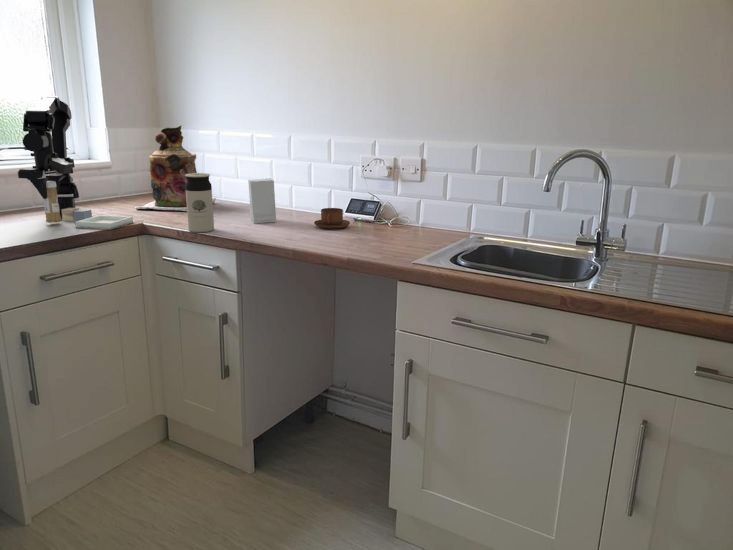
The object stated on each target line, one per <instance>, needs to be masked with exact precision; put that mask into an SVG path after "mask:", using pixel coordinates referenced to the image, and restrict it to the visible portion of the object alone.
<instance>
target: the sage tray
mask: <svg viewBox="0 0 733 550" xmlns="http://www.w3.org/2000/svg"><path fill="white" fill-rule="evenodd" d="M133 218H134V217H133V216H123V215H101V214H100V215H94V216H92V217H91V218H87V219H84V220H80V221H76V222H74V223H75V228H77V229H92V228H93V230H96V229H97V230H113V229H114V230H115V229H118V228H120V226H121V227H124V226H126V225H125V224H127V225H129V223H130V224H133V223H134V219H133ZM132 222H133V223H132ZM123 225H124V226H123Z"/></svg>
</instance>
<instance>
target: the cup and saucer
mask: <svg viewBox="0 0 733 550" xmlns="http://www.w3.org/2000/svg"><path fill="white" fill-rule="evenodd" d="M313 223H314V225H315V226H316V227H318V228H320V229H325V230H338V229H343V228H346V227H348V226H349V225H350V223H351V222H350V221H349V220H348V219H347V220H346V219H344V210H343V208H339V207H326V208H322V209H320V219H317V220H315V221H314V222H313Z"/></svg>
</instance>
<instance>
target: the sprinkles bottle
mask: <svg viewBox="0 0 733 550" xmlns="http://www.w3.org/2000/svg"><path fill="white" fill-rule="evenodd" d="M56 187H57V186H56V182H55V181H47V182H46V188H47V199H43V198H42V202H43V207H44V209H43V210H44V214H45V222H46V223H49V224H52V223H53V224H54V223H55V224H56V223H60V222H61V221H62V218H61V216H60V212H59V211H60V210H59V203H58V198H57V196H58V195H57V191H56Z"/></svg>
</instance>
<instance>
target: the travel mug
mask: <svg viewBox="0 0 733 550" xmlns="http://www.w3.org/2000/svg"><path fill="white" fill-rule="evenodd" d="M185 176H186V177H187V182H186V185H185V188H186V201H187V211H186V212H187V225H188V226H187V227H188V231H190V232H192V233H209V232H212V231H213V230H215V222H214V221H215V220H214V205H213V204H214V203H213V202H212V198H213V187H212V183H211V181H210V176H211V174H210V173H205V172H201V173H200V172H199V173H198V172H197V173H192V174H186V175H185Z"/></svg>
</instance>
